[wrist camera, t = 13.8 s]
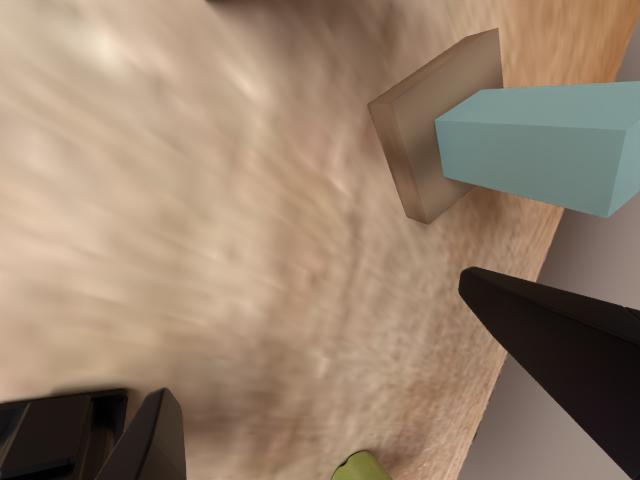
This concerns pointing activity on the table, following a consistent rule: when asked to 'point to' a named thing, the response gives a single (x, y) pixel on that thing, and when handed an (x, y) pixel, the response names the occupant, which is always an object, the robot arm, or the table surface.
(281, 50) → the table surface
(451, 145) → the teal block
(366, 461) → the plant pot
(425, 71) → the walnut block
